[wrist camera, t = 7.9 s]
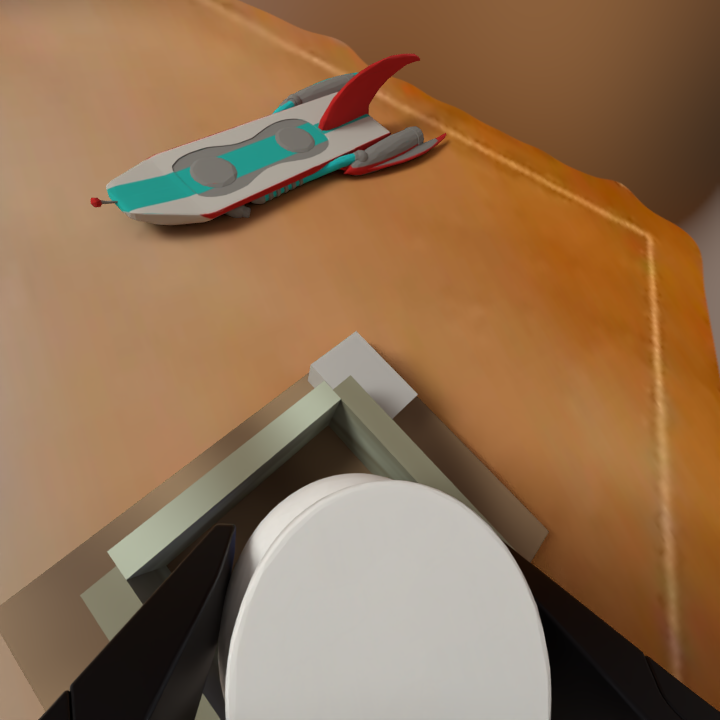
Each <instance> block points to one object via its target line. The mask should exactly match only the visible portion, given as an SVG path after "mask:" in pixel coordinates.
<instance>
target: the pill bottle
mask: <svg viewBox="0 0 720 720" xmlns="http://www.w3.org/2000/svg"><path fill="white" fill-rule="evenodd" d="M218 665H219V675H220V683H221V688H222V693H223V697H224V701H225V715H226V720H551V700H552V698H551V676H550V664H549V657H548V651H547V646H546V641H545V636H544V631H543V627H542V623H541V619H540V615H539V611H538V608H537V605H536V602H535V600H534V597H533V595H532V593H531V590H530V588H529V586H528V583H527V581H526V579H525V577H524V575H523V573H522V571H521V569H520V568H519V566H518V564H517V562H516V560H515V559H514V557H513V556H512V554H511V553H510V551H509V549H508V548H507V546H506V545H505V544H504V543H503V541H502V540H501V539H500V538H499V536H498V535H497V534H496V533H495V532H494V531H493V529H492V528H491V527H490V526H489V525H488V524H487V523H486V522H485V521H484V520H483V519H482V518H481V517H480V516H478V515H477V514H476V513H475V512H474V511H473V510H471V509H470V508H469V507H467V506H466V505H465V504H463V503H462V502H460V501H459V500H457V499H456V498H454V497H452V496H450V495H448V494H446V493H444V492H442V491H440V490H438V489H435V488H432V487H429V486H426V485H423V484H420V483H415V482H410V481H403V480H392V479H389V478H387V477H382V476H378V475H373V474H365V473H349V474H340V475H335V476H331V477H327V478H323V479H320V480H317V481H315V482H313V483H310V484H308V485H306V486H304V487H302V488H301V489H299V490H297V491H296V492H294V493H293V494H291V495H289V496H288V497H287V498H286V499H284V500H283V501H282V502H280V503H279V504H278V505H277V506H276V507H275V508H274V509H273V510H272V511H271V512H270V513H269V514H268V515H267V516H266V517H265V518H264V519H263V520H262V521H261V523H260V524H259V525H258V527H257V528H256V529H255V531H254V532H253V534H252V535H251V537H250V538H249V540H248V541H247V543H246V545H245V547H244V548H243V550H242V552H241V554H240V556H239V558H238V560H237V562H236V564H235V567H234V569H233V572H232V574H231V577H230V580H229V583H228V586H227V590H226V595H225V599H224V605H223V611H222V617H221V623H220V630H219V638H218Z"/></svg>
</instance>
